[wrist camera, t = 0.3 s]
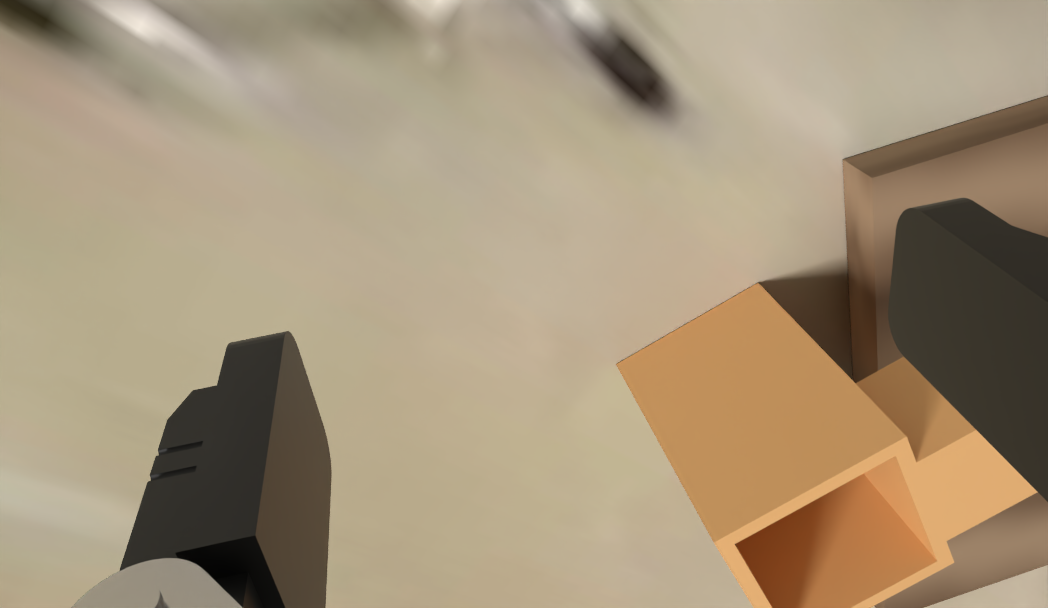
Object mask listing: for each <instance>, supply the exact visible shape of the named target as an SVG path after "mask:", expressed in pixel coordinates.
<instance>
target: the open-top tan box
mask: <svg viewBox="0 0 1048 608" xmlns="http://www.w3.org/2000/svg"><path fill="white" fill-rule="evenodd" d="M616 365H617V367H618V369H619V370H620V372H621V374H622V376H623V378H624V380H625V381H626V383H627V385H628V387H629V389H630V391H631V392H632V394H633V396H634V398H635V400H636V401H637V403H638V405H639V407H640V409H641V411H642V412H643V414H644V416H645V418H646V420H647V422H648V423H649V425H650V427H651V429H652V431H653V432H654V434H655V436H656V438H657V440H658V442H659V443H660V445H661V447H662V449H663V451H664V453H665V454H666V456H667V458H668V460H669V462H670V463H671V465H672V467H673V469H674V471H675V473H676V474H677V476H678V478H679V480H680V482H681V484H682V485H683V487H684V489H685V491H686V493H687V494H688V496H689V498H690V500H691V502H692V504H693V505H694V507H695V509H696V511H697V513H698V514H699V516H700V518H701V520H702V522H703V524H704V525H705V527H706V529H707V531H708V533H709V535H710V536H711V538H712V540H713V542H714V544H715V545H716V547H717V548H718V550H719V552H720V553H721V555H722V557H723V558H724V560H725V562H726V563H727V565H728V566H729V568H730V570H731V571H732V573H733V575H734V576H735V578H736V580H737V581H738V583H739V584H740V586H741V588H742V589H743V591H744V593H745V594H746V596H747V597H748V599H749V601H750V602H751V604H752V606H753V607H754V608H871V607H873V606H874V605H876V604H878V603H880V602H882V601H884V600H886V599H888V598H889V597H891V596H893V595H895V594H897V593H899V592H901V591H902V590H904V589H906V588H908V587H910V586H912V585H914V584H916V583H917V582H919V581H921V580H923V579H925V578H927V577H929V576H931V575H932V574H934V573H936V572H938V571H940V570H942V569H944V568H945V567H947V566H949V565H951V564H953V563H954V560H953V557H952V555H951V552H950V549H949V547H948V544H947V541H948V540H950V539H951V538H953V537H955V536H957V535H959V534H961V533H963V532H965V531H966V530H968V529H970V528H972V527H974V526H976V525H978V524H979V523H981V522H983V521H985V520H987V519H989V518H991V517H992V516H994V515H996V514H998V513H1000V512H1002V511H1004V510H1005V509H1007V508H1009V507H1011V506H1013V505H1015V504H1017V503H1018V502H1020V501H1022V500H1024V499H1026V498H1028V497H1030V496H1031V495H1033V494H1035V493H1037V491H1036V490H1035V489H1034V488H1033V487H1032V486H1031V485H1030V484H1029V483H1028V482H1027V481H1026V480H1025V479H1024V478H1023V477H1022V476H1021V475H1020V474H1019V473H1018V472H1017V471H1016V470H1015V469H1014V468H1013V467H1012V466H1011V465H1010V464H1009V463H1008V461H1007V460H1006V459H1005V458H1004V457H1003V456H1002V455H1001V454H1000V453H999V452H998V451H997V450H996V449H995V448H994V447H993V446H992V445H991V444H990V443H989V442H988V441H987V440H986V439H985V438H984V437H983V436H982V435H981V434H980V433H979V432H978V431H977V430H976V429H975V428H974V427H973V426H972V425H971V424H970V423H969V422H968V421H967V420H966V419H965V418H964V417H963V416H962V415H961V414H960V413H959V412H958V411H957V410H956V409H955V408H954V407H953V406H952V405H951V404H950V403H949V402H948V401H947V400H946V399H945V398H944V397H943V396H942V395H941V394H940V393H939V392H938V391H937V390H936V389H935V388H934V387H933V386H932V385H931V384H930V383H929V382H928V381H927V380H926V379H925V378H924V377H923V376H922V374H921V373H920V372H919V371H918V370H917V369H916V368H915V367H914V366H913V365H912V364H911V363H910V362H909V361H908V360H907V359H906V358H905V357H902V358H900V359H898V360H897V361H895V362H893V363H891V364H889V365H888V366H886V367H884V368H882V369H880V370H879V371H877V372H875V373H873V374H871V375H870V376H868V377H866V378H864V379H863V380H861V381H859V382H857V383H855V382H854V381H853V380H852V379H851V378H850V377H849V376H848V375H847V374H846V373H845V372H844V371H843V370H842V369H841V368H840V367H839V366H838V365H837V364H836V363H835V362H834V361H833V360H832V359H831V358H830V357H829V356H828V354H827V353H826V352H825V351H824V350H823V349H822V348H821V347H820V346H819V345H818V344H817V343H816V342H815V341H814V340H813V339H812V338H811V337H810V336H809V335H808V334H807V333H806V332H805V331H804V330H803V329H802V328H801V327H800V325H799V324H798V323H797V322H796V321H795V320H794V319H793V318H792V317H791V316H790V315H789V314H788V313H787V312H786V311H785V310H784V309H783V308H782V307H781V306H780V305H779V304H778V303H777V302H776V301H775V300H774V299H773V298H772V296H771V295H770V294H769V293H768V292H767V291H766V290H765V289H764V288H763V287H762V286H761V285H760V284H759V283H757V284H755V285H753V286H752V287H750V288H748V289H746V290H745V291H743V292H741V293H739V294H738V295H736V296H734V297H732V298H731V299H729V300H727V301H725V302H724V303H722V304H720V305H719V306H717V307H715V308H713V309H712V310H710V311H708V312H706V313H705V314H703V315H701V316H699V317H698V318H696V319H694V320H692V321H691V322H689V323H687V324H685V325H684V326H682V327H680V328H678V329H677V330H675V331H673V332H671V333H670V334H668V335H666V336H665V337H663V338H661V339H659V340H658V341H656V342H654V343H652V344H651V345H649V346H647V347H645V348H644V349H642V350H640V351H638V352H637V353H635V354H633V355H631V356H630V357H628V358H626V359H624V360H623V361H621V362H619V363H617V364H616Z"/></svg>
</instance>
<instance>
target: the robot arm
mask: <svg viewBox="0 0 1048 608" xmlns="http://www.w3.org/2000/svg"><path fill="white" fill-rule="evenodd" d="M888 320H889V326H890V331H891V334H892V337H893V340H894V342H895V344H896V346H897V348H898V350H899V351H900V352H901V354H902V355H903V356H904V357H905V358H906V359H907V360H908V361H909V362H910V363H911V364H912V365H913V366H914V367H915V368H916V369H917V370H918V371H919V372H920V373H921V374H922V376H923V377H924V378H925V379H926V380H927V381H928V382H929V383H930V384H931V385H932V386H933V387H934V388H935V389H936V390H937V391H938V392H939V393H940V394H941V395H942V396H943V397H944V398H945V399H946V400H947V401H948V402H949V403H950V404H951V405H952V406H953V407H954V408H955V409H956V410H957V411H958V412H959V413H960V414H961V415H962V416H963V417H964V418H965V419H966V420H967V421H968V422H969V423H970V424H971V425H972V426H973V427H974V428H975V429H976V430H977V431H978V432H979V433H980V434H981V435H982V436H983V437H984V438H985V439H986V440H987V441H988V442H989V443H990V444H991V445H992V446H993V447H994V448H995V449H996V450H997V451H998V452H999V453H1000V454H1001V455H1002V456H1003V457H1004V458H1005V459H1006V460H1007V461H1008V463H1009V464H1010V465H1011V466H1012V467H1013V468H1014V469H1015V470H1016V471H1017V472H1018V473H1019V474H1020V475H1021V476H1022V477H1023V478H1024V479H1025V480H1026V481H1027V482H1028V483H1029V484H1030V485H1031V486H1032V487H1033V488H1034V489H1035V490H1036V491H1037V492H1038V493H1039V494H1040V495H1041V496H1042V497H1043V498H1044V499H1045V500H1046V501H1047V502H1048V237H1045V236H1042V235H1039V234H1036V233H1033V232H1030V231H1027V230H1024V229H1021V228H1018V227H1015V226H1012V225H1010V224H1008V223H1007V222H1005V221H1004V220H1002V219H1001V218H999V217H998V216H996V215H994V214H993V213H991V212H990V211H988V210H987V209H985V208H984V207H982V206H980V205H979V204H977V203H976V202H974V201H973V200H971V199H968V198H957V199H952V200H947V201H942V202H937V203H932V204H927V205H922V206H917V207H912V208H908V209H906V210H905V211H903V212H902V214H901V215H900V217H899V219H898V222H897V226H896V234H895V244H894V254H893V264H892V275H891V285H890V295H889V305H888ZM158 452H159V456H156V458H155V461H154V464H153V467H152V470H151V473H150V477H151V481H149V482H148V483H147V486H146V489H145V492H144V495H143V498H142V501H141V505H140V508H139V511H138V514H137V517H136V520H135V523H134V527H133V530H132V533H131V536H130V539H129V542H128V545H127V549H126V552H125V555H124V558H123V561H122V564H121V567H120V571H119V572H117V573H115V574H113V575H111V576H109V577H108V578H106V579H104V580H103V581H101V582H100V583H98V584H97V585H96V586H94V587H93V588H92V589H90V590H89V591H88V592H87V593H86V594H84V595H83V596H82V597H81V598H80V599H79V600H78V601H77V602H76V603H75V604H74V605H73V606H72V608H325V604H326V583H327V561H328V539H329V517H330V496H331V460H330V453H329V447H328V441H327V437H326V433H325V429H324V426H323V423H322V420H321V417H320V413H319V410H318V407H317V404H316V401H315V398H314V395H313V392H312V389H311V386H310V383H309V380H308V377H307V374H306V371H305V368H304V365H303V362H302V359H301V356H300V352H299V349H298V347H297V344H296V341H295V339H294V337H293V336H292V334H291V333H290V332H289V331H286V332H281V333H276V334H271V335H266V336H261V337H256V338H251V339H246V340H241V341H236V342H231V343H229V344H228V346H227V348H226V352H225V356H224V360H223V364H222V368H221V372H220V376H219V380H218V384H217V386H212V387H207V388H202V389H198V390H193V391H192V392H191V393H190V394H189V396H188V397H187V398H186V399H185V400H184V401H183V402H182V404H181V405H180V406H179V407H178V408H177V409H176V411H175V412H174V413H173V414H172V415H171V416H170V418H169V419H168V420H167V423H166V426H165V429H164V432H163V436H162V439H161V442H160V445H159V448H158Z"/></svg>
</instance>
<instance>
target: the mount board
mask: <svg viewBox="0 0 1048 608" xmlns="http://www.w3.org/2000/svg"><path fill="white" fill-rule="evenodd" d="M843 175H844V196H845V217H846V239H847V260H848V281H849V302H850V323H851V344H852V365H853V381H854V382H855V383H857V382H859V381H861V380H863V379H864V378H866V377H868V376H870V375H871V374H873V373H875V372H877V371H879V370H880V369H882V368H884V367H886V366H888V365H889V364H891V363H893V362H895V361H897V360H898V359H900V358H902V357H904V356H903V355H902V354H901V352H900V351H899V350H898V348H897V346H896V344H895V342H894V340H893V337H892V334H891V331H890V326H889V320H888V305H889V295H890V285H891V275H892V264H893V254H894V244H895V234H896V226H897V222H898V219H899V217H900V215H901V214H902V212H903V211H905V210H906V209H908V208H912V207H917V206H922V205H927V204H932V203H937V202H942V201H947V200H952V199H957V198H968V199H971V200H973V201H974V202H976V203H977V204H979V205H980V206H982V207H984V208H985V209H987V210H988V211H990V212H991V213H993V214H994V215H996V216H998V217H999V218H1001V219H1002V220H1004V221H1005V222H1007V223H1008V224H1010V225H1012V226H1015V227H1018V228H1021V229H1024V230H1027V231H1030V232H1033V233H1036V234H1039V235H1042V236H1045V237H1048V96H1046V97H1042V98H1039V99H1036V100H1033V101H1030V102H1026V103H1023V104H1020V105H1017V106H1014V107H1010V108H1007V109H1004V110H1001V111H997V112H994V113H991V114H988V115H985V116H981V117H978V118H975V119H972V120H968V121H965V122H962V123H959V124H956V125H952V126H949V127H946V128H943V129H939V130H936V131H933V132H930V133H927V134H923V135H920V136H917V137H914V138H911V139H907V140H904V141H901V142H898V143H894V144H891V145H888V146H885V147H882V148H878V149H875V150H872V151H869V152H865V153H862V154H859V155H856V156H853V157H849V158H846V159H843ZM947 544H948V547H949V549H950V552H951V555H952V557H953V560H954V563H953V564H951V565H949V566H947V567H945V568H944V569H942V570H940V571H938V572H936V573H934V574H932V575H931V576H929V577H927V578H925V579H923V580H921V581H919V582H917V583H916V584H914V585H912V586H910V587H908V588H906V589H904V590H902V591H901V592H899V593H897V594H895V595H893V596H891V597H889V598H888V599H886V600H884V601H882V602H880V603H878V604H876V605H874V606H875V607H876V608H924V607H927V606H929V605H932V604H935V603H938V602H941V601H944V600H947V599H950V598H953V597H956V596H958V595H961V594H964V593H967V592H970V591H973V590H976V589H979V588H982V587H985V586H988V585H990V584H993V583H996V582H999V581H1002V580H1005V579H1008V578H1011V577H1014V576H1017V575H1019V574H1022V573H1025V572H1028V571H1031V570H1034V569H1037V568H1040V567H1043V566H1046V565H1048V502H1047V501H1046V500H1045V499H1044V498H1043V497H1042V496H1041V495H1040V494H1039V493H1038V492H1037V493H1035V494H1033V495H1031V496H1030V497H1028V498H1026V499H1024V500H1022V501H1020V502H1018V503H1017V504H1015V505H1013V506H1011V507H1009V508H1007V509H1005V510H1004V511H1002V512H1000V513H998V514H996V515H994V516H992V517H991V518H989V519H987V520H985V521H983V522H981V523H979V524H978V525H976V526H974V527H972V528H970V529H968V530H966V531H965V532H963V533H961V534H959V535H957V536H955V537H953V538H951V539H950V540H948V541H947Z"/></svg>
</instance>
